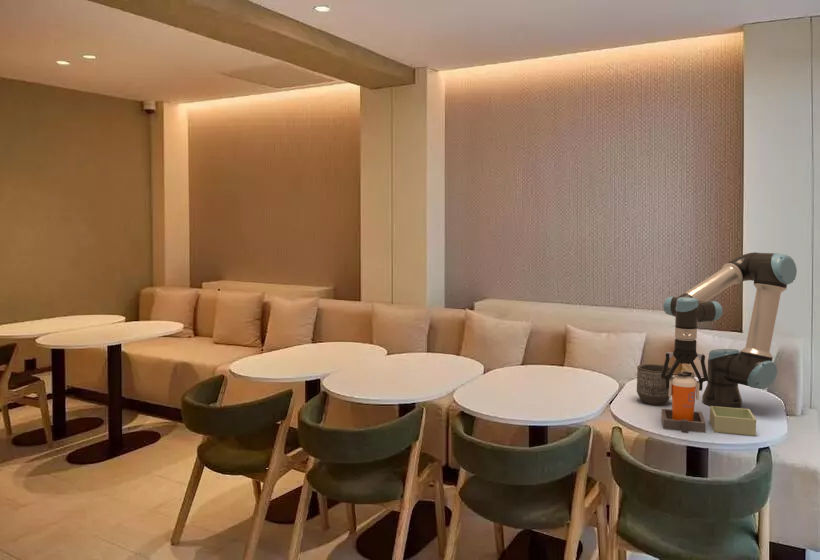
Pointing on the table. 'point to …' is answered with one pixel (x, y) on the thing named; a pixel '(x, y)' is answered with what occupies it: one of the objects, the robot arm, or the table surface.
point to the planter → (652, 384)
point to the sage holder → (732, 421)
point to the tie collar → (683, 422)
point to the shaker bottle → (683, 396)
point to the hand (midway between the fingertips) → (683, 397)
